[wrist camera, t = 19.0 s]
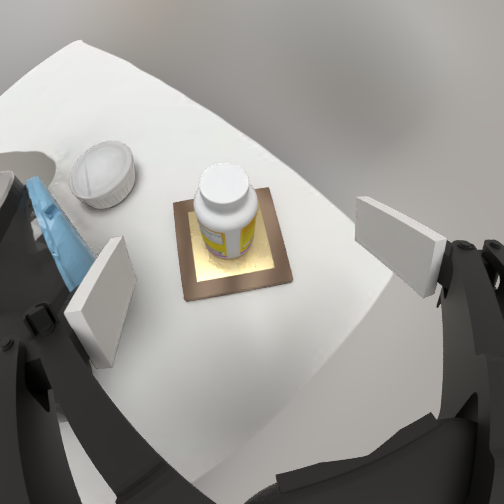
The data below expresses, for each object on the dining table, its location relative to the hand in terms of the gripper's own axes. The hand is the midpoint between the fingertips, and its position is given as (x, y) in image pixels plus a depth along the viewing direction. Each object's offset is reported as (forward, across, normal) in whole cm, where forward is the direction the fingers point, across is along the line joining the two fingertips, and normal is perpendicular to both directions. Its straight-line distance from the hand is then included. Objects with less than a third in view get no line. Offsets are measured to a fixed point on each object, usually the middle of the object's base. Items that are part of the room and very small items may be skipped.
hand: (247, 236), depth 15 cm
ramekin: (+32, -18, 0) cm, 36 cm away
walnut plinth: (+22, 0, -10) cm, 24 cm away
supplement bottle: (+21, 0, -8) cm, 23 cm away
